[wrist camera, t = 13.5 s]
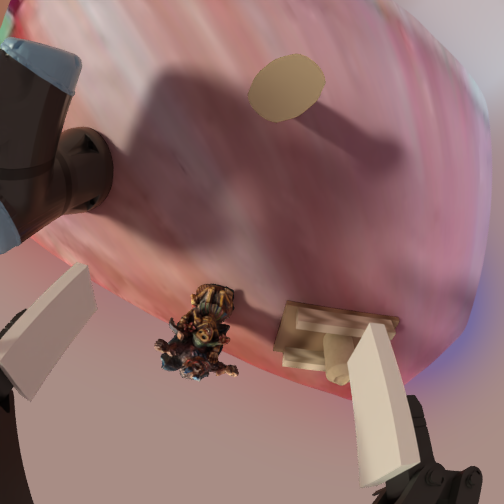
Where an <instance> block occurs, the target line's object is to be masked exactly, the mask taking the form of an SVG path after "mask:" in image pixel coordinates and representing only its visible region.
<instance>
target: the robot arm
mask: <svg viewBox="0 0 504 504" xmlns="http://www.w3.org/2000/svg"><path fill="white" fill-rule="evenodd" d="M81 69H82V62H81V59H80V58H79V57H78V56H77V55H75V54H73V53H70V52H68V51H65V50H62V49H58V48H55V47H52V46H48V45H45V44H41V43H37V42H33V41H29V40H24V39H19V38H15V37H7V38H6V39H5V40H4V42H3V43H2V44H1V49H0V254H4V253H6V252H7V251H9V250H10V249H12V248H13V247H15V246H19V245H20V244H21V243H22V242H24V241H25V240H26V239H28V238H29V237H31V236H32V235H33V234H35V233H36V232H38V231H39V230H41V229H42V228H43V227H45V226H46V225H48V224H49V223H51V222H52V221H54V220H55V219H57V218H58V217H60V216H62V215H67V214H77V213H84V212H87V211H90V210H91V209H93V208H95V207H96V206H98V205H100V204H101V203H102V202H103V201H104V199H105V198H106V197H107V195H108V193H109V191H110V188H111V184H112V179H113V163H112V158H111V154H110V151H109V148H108V146H107V144H106V143H105V141H104V139H103V138H102V137H101V136H100V135H99V134H98V133H97V132H96V131H94V130H92V129H90V128H87V127H76V128H71V129H68V130H66V131H64V132H62V128H63V125H64V121H65V118H66V114H67V111H68V108H69V105H70V102H71V100H72V97H73V96H74V95H75V87H76V84H77V81H78V78H79V75H80V72H81ZM61 132H62V133H61ZM96 310H97V304H96V300H95V296H94V293H93V288H92V283H91V278H90V273H89V268H88V265H85V264H81V263H78V262H76V263H75V264H74V265H73V266H72V267H71V268H70V269H69V270H68V271H66V272H65V273H64V274H63V275H62V276H61V277H60V278H59V279H58V280H57V281H56V282H55V283H54V284H52V285H51V287H49V288H48V289H47V290H46V291H45V292H44V293H43V294H42V295H41V296H40V297H39V298H38V299H37V300H36V301H35V302H34V303H33V304H32V305H31V306H30V308H28V309H25V310H23V311H21V312H19V313H18V314H16V316H15V317H14V318H13V319H12V320H11V321H10V323H8V324H7V325H6V326H5V329H3V330H2V331H1V332H0V504H34V503H33V500H32V497H31V494H30V490H29V487H28V483H27V480H26V476H25V471H24V467H23V463H22V458H21V453H20V447H19V441H18V434H17V428H16V427H17V426H16V418H15V406H14V394H13V391H12V388H13V387H15V388H16V390H17V391H18V392H19V394H20V395H22V396H23V397H24V398H26V399H27V400H29V401H30V402H31V401H32V399H33V398H34V396H35V395H36V393H37V391H38V390H39V388H40V387H41V385H42V384H43V382H44V381H45V379H46V378H47V376H48V375H49V373H50V372H51V371H52V369H53V368H54V366H55V365H56V363H57V362H58V361H59V359H60V358H61V356H62V355H63V354H64V352H65V351H66V349H67V348H68V347H69V345H70V344H71V342H72V341H73V340H74V339H75V337H76V336H77V335H78V333H79V332H80V331H81V329H82V328H83V327H84V325H85V324H86V323H87V321H88V320H89V319H90V318H91V317H92V315H93V314H94V313H95V312H96ZM347 365H348V371H349V378H350V385H351V393H352V400H353V408H354V418H355V427H356V438H357V449H358V463H359V485H360V488H363V487H372V486H378V485H379V484H382V483H384V482H386V487H384V488H382V489H380V490H378V491H376V492H375V493H374V494H372V495H373V496H375V495H378V494H379V495H378V497H377V498H376V499H375V501H374V502H373V503H372V504H478V502H479V497H480V492H481V486H482V473H481V471H480V469H479V468H477V467H475V466H470V467H468V468H467V469H465V470H463V471H450V470H445V468H444V467H443V466H442V465H441V464H439V463H436V462H435V460H434V456H433V452H432V447H431V442H430V437H429V433H428V429H427V427H426V421H425V418H424V413H423V409H422V406H421V404H420V402H419V401H418V399H417V398H416V396H415V395H406V393H405V389H404V386H403V382H402V378H401V375H400V371H399V368H398V365H397V362H396V358H395V355H394V352H393V349H392V346H391V343H390V340H389V337H388V334H387V331H386V328H385V325H384V324H377V323H369V324H368V326H367V328H366V330H365V332H364V334H363V336H362V337H361V339H360V341H359V343H358V345H357V346H356V348H355V350H354V352H353V353H352V355H351V357H350V358H349V360H348V362H347Z"/></svg>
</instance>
